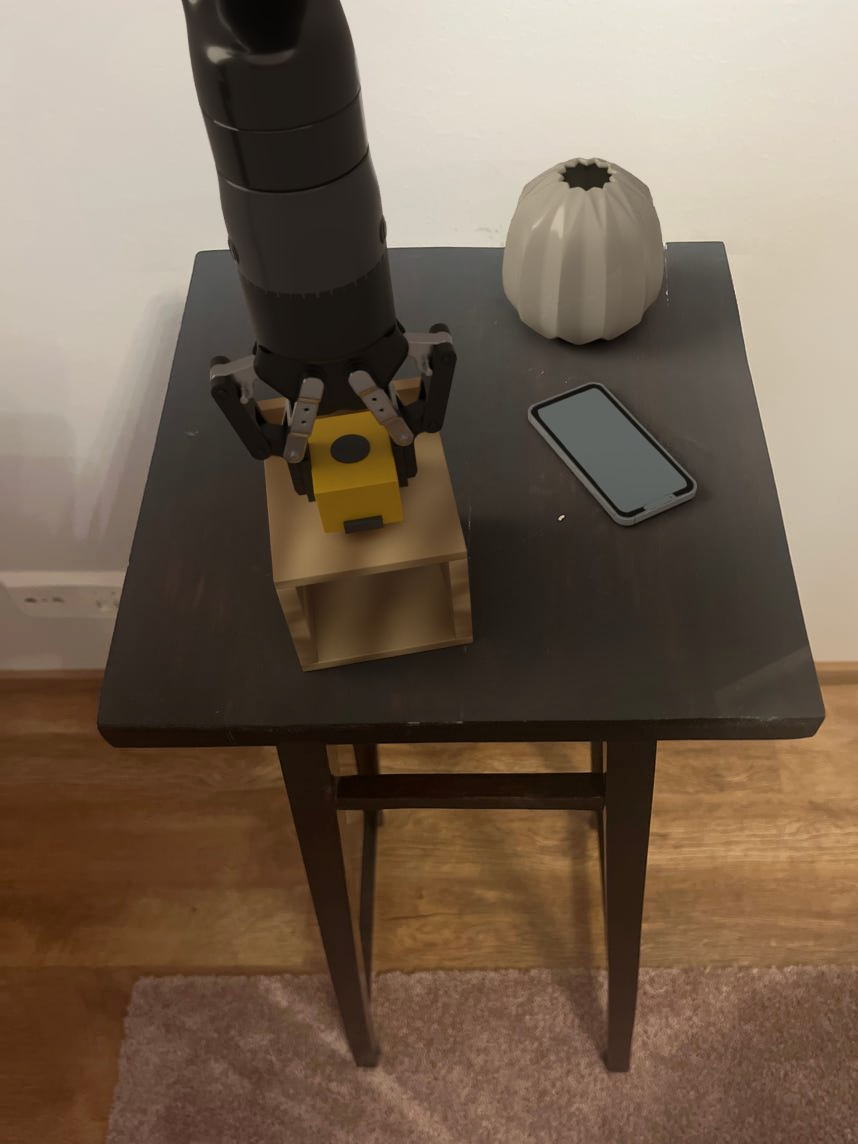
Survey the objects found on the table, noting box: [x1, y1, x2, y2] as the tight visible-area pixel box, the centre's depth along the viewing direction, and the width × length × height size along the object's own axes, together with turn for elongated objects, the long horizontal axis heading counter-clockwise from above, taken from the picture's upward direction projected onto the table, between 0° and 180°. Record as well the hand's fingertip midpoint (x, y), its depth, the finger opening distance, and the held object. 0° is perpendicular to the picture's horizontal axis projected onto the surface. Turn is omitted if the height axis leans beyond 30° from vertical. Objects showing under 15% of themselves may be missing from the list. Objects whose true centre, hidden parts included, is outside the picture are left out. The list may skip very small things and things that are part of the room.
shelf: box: [255, 376, 474, 673], centre depth 66 cm, size 12×12×14 cm
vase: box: [501, 157, 665, 346], centre depth 84 cm, size 14×14×13 cm
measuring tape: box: [308, 411, 404, 534], centre depth 61 cm, size 5×7×4 cm
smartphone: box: [527, 381, 698, 526], centre depth 78 cm, size 7×1×15 cm
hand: (356, 484), depth 62 cm, fingers closed on measuring tape, 5 cm apart
